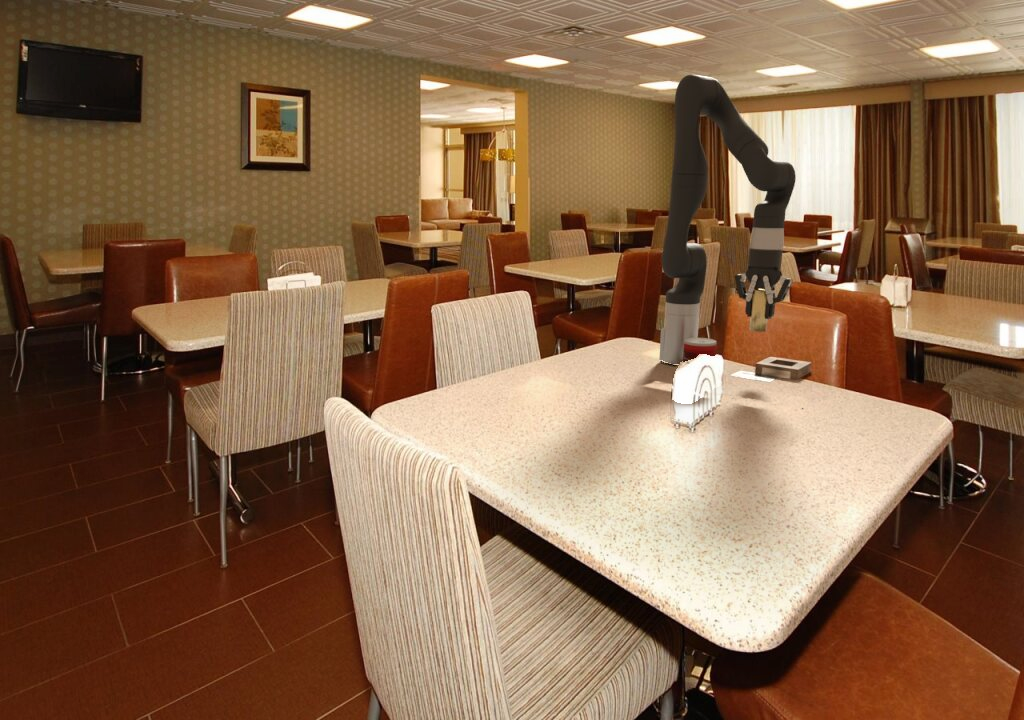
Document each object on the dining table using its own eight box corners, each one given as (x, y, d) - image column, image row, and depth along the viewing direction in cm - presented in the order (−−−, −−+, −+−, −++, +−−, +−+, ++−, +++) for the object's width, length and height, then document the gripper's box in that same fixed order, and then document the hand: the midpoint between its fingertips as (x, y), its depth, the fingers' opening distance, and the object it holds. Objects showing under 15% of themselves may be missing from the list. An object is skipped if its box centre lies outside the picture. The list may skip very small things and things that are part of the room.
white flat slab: (729, 381, 169) (729, 375, 169) (739, 376, 175) (740, 370, 174) (768, 388, 163) (769, 382, 163) (778, 382, 168) (779, 376, 168)
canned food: (717, 382, 168) (720, 339, 166) (708, 389, 162) (711, 344, 159) (687, 378, 172) (689, 336, 170) (677, 385, 166) (680, 341, 163)
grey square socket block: (754, 378, 172) (755, 363, 171) (769, 371, 180) (770, 356, 179) (796, 385, 166) (798, 369, 165) (810, 377, 174) (811, 362, 173)
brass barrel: (746, 330, 166) (750, 290, 164) (752, 328, 169) (756, 288, 167) (762, 332, 163) (767, 291, 161) (768, 330, 166) (773, 290, 164)
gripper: (731, 246, 163) (725, 316, 167) (791, 249, 154) (783, 323, 158) (743, 244, 169) (737, 312, 173) (801, 248, 160) (793, 319, 164)
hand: (759, 317), depth 165 cm, fingers closed on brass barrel, 4 cm apart
